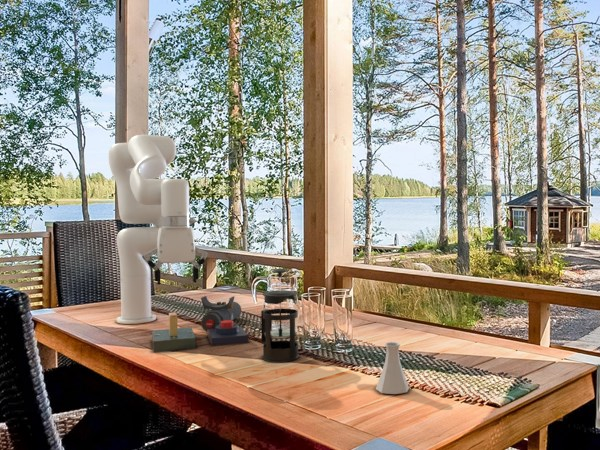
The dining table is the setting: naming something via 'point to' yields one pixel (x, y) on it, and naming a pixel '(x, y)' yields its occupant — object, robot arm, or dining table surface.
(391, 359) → the flask
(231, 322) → the red button
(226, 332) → the button block
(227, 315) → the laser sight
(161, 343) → the panel
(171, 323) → the tan flat block
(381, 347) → the dining table surface
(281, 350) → the french press
